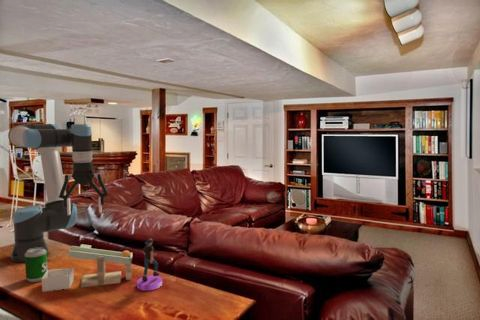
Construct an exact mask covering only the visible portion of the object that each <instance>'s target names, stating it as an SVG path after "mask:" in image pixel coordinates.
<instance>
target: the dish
mask: <svg viewBox="0 0 480 320" xmlns="http://www.w3.org/2000/svg"><path fill="white" fill-rule="evenodd" d="M74 281H75V279H74V267H66V268H57V269H48V270H47V271H46V273H45V274H44V276H43V277H42V281H41V290H42V291H41V292H42V293H45V292H53V291H54V290H55V291H62V289H64V290H70V289H71V287H72V284H73V282H74ZM55 291H54V292H55Z"/></svg>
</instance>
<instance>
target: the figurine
mask: <svg viewBox="0 0 480 320" xmlns="http://www.w3.org/2000/svg"><path fill="white" fill-rule="evenodd" d="M153 242H154V239H152V238H150V237H149V238H148V239H146V241H145V242H144V244H145V246H144V248H143V249H142V253H143V254H144V262H143V263H144V270H143V275H142V277H140V278H138V279H137V280H136V287H137V288H138V290H141V291H152V290H153V291H154V290H157V289H159V288H161V287H162V286H163V277H161V276H160V273H159V272H158V270H159V269H158V268H159V263H158V262H157V260H156V259H155V258H154V251H155V248H154V246H153ZM149 263H150V264H153V265H154V266H153V267H154V269H153V273H152V274H149V275H148V271H149ZM160 286H161V287H160Z"/></svg>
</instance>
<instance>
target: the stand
mask: <svg viewBox="0 0 480 320" xmlns="http://www.w3.org/2000/svg"><path fill="white" fill-rule="evenodd" d="M96 263H97V264H96V268H97V270H96V271H97V273H92V274H91V273H90V274H84V275H83V277H82V280H81V282H80V288H86V287H87V288H89V287H97V286H105V285H113V284H120V283H121V281H122V271H121V270H119V271H109V272H106V262H104V261H103V256H100V257H97V261H96ZM124 265H125V268H124V269H125V280H126V281H129V280H130V281H131V280H132V264H131V265H130V264H124Z"/></svg>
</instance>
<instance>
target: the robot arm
mask: <svg viewBox="0 0 480 320" xmlns="http://www.w3.org/2000/svg"><path fill="white" fill-rule="evenodd" d="M92 133H93V131H92V126H91V125H90V124H86V123H81V124H80V123H79V124H78V123H77V124H76V123H75V124H71V125H70V128H62V127H61V126H60V125H59V124H53V123H25V124H18V125H15V126H14V127H12V128H10V130H9V131H8V135H7V137H8V140H9V142H10V143H11V144H12V145H14V146H17V147H20V148H26V149H35V150H36V152H37V153H38V154H39V155H40V161H41V169H42V172H43V180H44V187H45V192H46V199H47V200H46V201H45V203H44V207H43V206H42V205H40V204H33V205H27V206H24V207H21V208H18V209H17V210H15V211H14V212H13V215H12V216H13V220H12V223H13V234H14V244H13V247H12V251H11V255H10V258H11V261H12V262H14V263H25V253H26V252H27V250H29V249H32V248H38V247H42V248H44V249H45V250H46V251H47V257H48V256H49V255H50V252H49V248H48V247H49V246H48V245H47V243H46V240H45V237H44V236H45V235H44V234H45V233H47V232H52V231H57V230H58V231H59V230H64V229H65V230H66V229H68V228H72V227H74V226H75V224H76V222H77V219H78V208H77V205H76V203H73V202H72V201H71V200H72V199H71V198H69V196H71V194H72V193H73V191H74V190H75V188H76V187H77V185H88V184H89V185H90V186H91V187H92V188H93V190H94V191H95V192H96V193H97V195H98V196H99V197H98V213H99V214H102V212H103V211H102V209H103V207H102V206H104V205H105V197H107V196H108V195H109V192H108V190H107V188H106V185H105V183H104V181H103V179H102V173H101V172H98V173H94V164H93V141H92V140H93V138H92V135H93V134H92ZM70 147H71V152H72V153H71V155H72V157H71V158H72V161H73V162H72V174H68V173H67V174H64V173H63V167H62V161H61V155H60V151H62V150H63V148H70ZM94 178H95V179H96V180H98V183H99V185H100V187H101V189H100V187H98V185H97V184H96V183H95V182H94V180H93V179H94ZM71 179H73V180H74V182H73V184H72V185H71V187H69V189H68V191H67V187H68V185H69V181H70V180H71Z"/></svg>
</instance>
